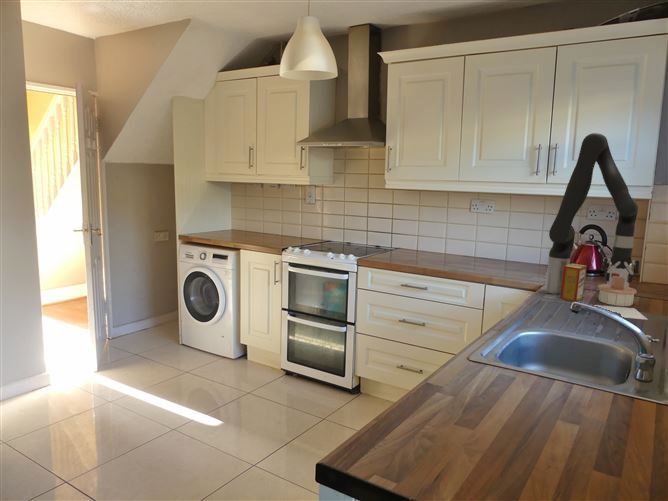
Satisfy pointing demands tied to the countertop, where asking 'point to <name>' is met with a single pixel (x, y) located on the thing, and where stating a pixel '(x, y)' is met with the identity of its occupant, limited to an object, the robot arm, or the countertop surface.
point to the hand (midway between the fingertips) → (618, 281)
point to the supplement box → (619, 274)
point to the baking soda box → (573, 282)
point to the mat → (625, 312)
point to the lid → (617, 286)
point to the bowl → (616, 298)
